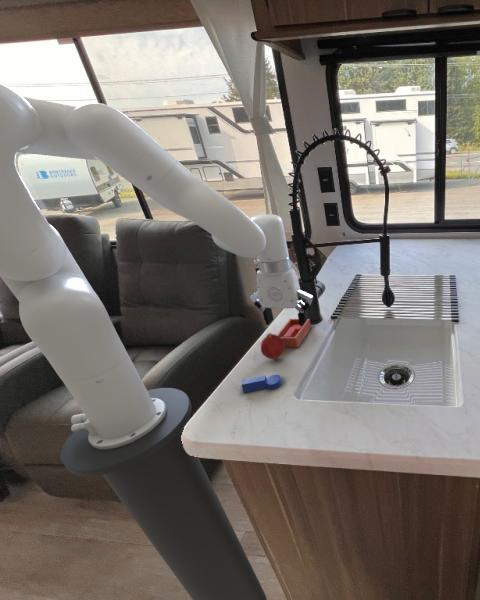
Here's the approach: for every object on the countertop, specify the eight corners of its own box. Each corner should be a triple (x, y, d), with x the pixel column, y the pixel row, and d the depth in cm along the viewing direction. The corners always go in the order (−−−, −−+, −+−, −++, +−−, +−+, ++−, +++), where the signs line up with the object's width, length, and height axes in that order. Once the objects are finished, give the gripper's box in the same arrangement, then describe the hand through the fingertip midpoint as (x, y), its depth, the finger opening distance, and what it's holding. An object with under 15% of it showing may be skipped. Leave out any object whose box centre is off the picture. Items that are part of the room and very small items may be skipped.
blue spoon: (243, 395, 70) (240, 387, 69) (245, 385, 73) (243, 377, 72) (281, 387, 72) (279, 379, 71) (282, 378, 75) (280, 370, 74)
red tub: (297, 347, 86) (295, 338, 85) (276, 346, 87) (274, 337, 85) (311, 327, 96) (309, 318, 94) (291, 326, 96) (290, 318, 95)
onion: (264, 354, 84) (257, 329, 80) (287, 350, 85) (281, 325, 82) (263, 367, 79) (256, 341, 75) (287, 362, 80) (281, 336, 77)
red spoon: (293, 343, 87) (292, 336, 86) (282, 343, 87) (280, 336, 86) (304, 328, 94) (303, 321, 93) (293, 328, 95) (292, 321, 94)
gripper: (234, 269, 77) (250, 329, 84) (301, 270, 75) (311, 331, 83) (250, 259, 84) (263, 315, 91) (312, 260, 82) (321, 317, 89)
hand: (286, 323), depth 87 cm, fingers open, 9 cm apart
